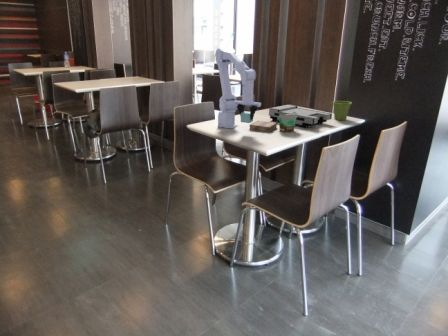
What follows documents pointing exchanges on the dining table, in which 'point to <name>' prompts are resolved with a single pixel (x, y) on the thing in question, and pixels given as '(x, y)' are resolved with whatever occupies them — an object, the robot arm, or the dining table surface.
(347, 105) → the plant pot
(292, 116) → the food container
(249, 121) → the teal cube
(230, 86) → the robot arm
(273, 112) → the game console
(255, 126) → the walnut base
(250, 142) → the dining table surface
